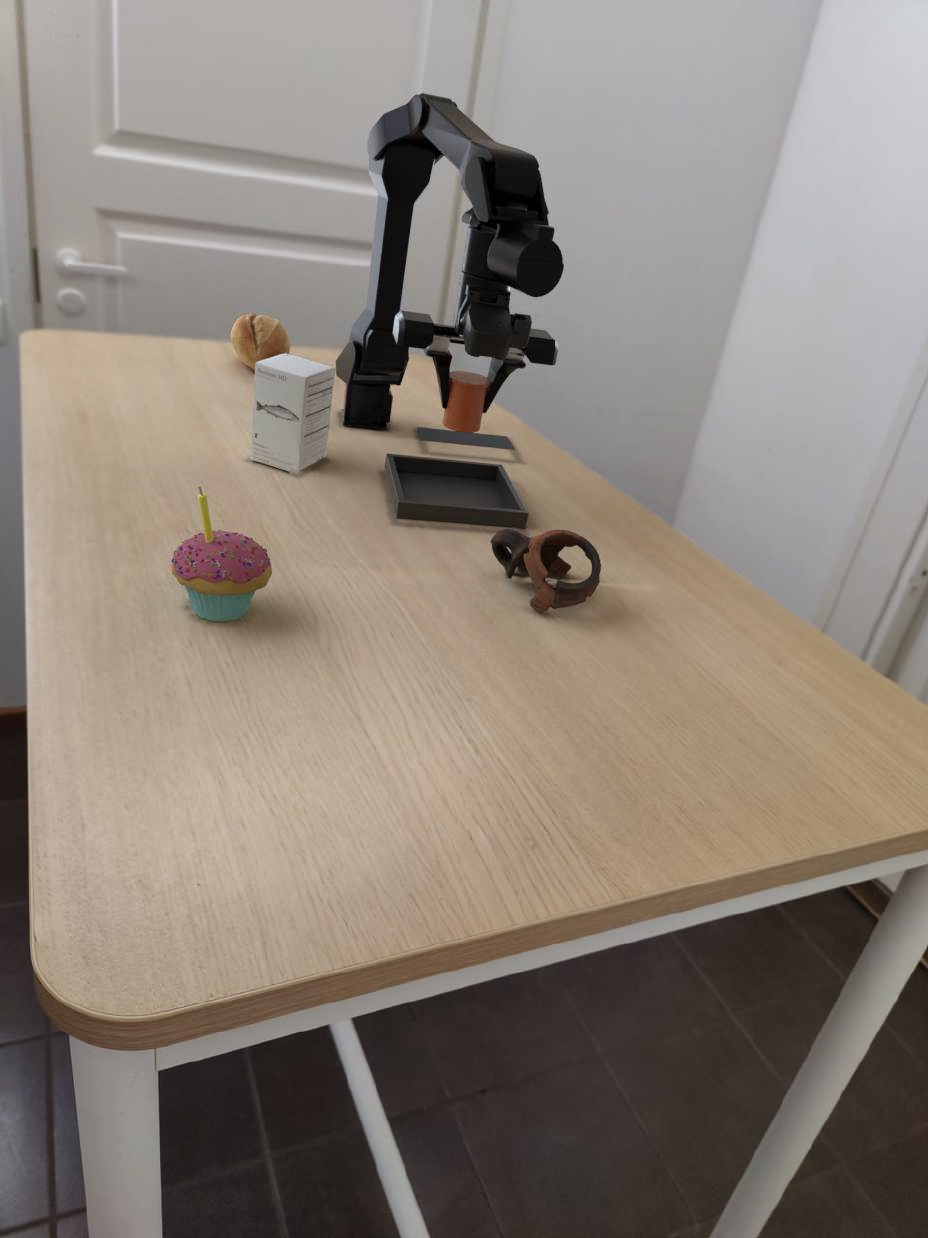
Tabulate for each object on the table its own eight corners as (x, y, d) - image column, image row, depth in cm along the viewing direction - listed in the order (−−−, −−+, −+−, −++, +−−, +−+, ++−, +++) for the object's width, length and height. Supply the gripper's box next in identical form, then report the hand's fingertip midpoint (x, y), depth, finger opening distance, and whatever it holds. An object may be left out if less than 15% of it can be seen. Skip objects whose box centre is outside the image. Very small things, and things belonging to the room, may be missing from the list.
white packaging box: (247, 460, 111) (252, 360, 105) (279, 446, 117) (285, 351, 111) (298, 477, 109) (306, 376, 103) (328, 461, 115) (337, 365, 109)
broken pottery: (588, 584, 98) (619, 543, 91) (563, 650, 93) (593, 613, 86) (492, 535, 97) (516, 491, 90) (461, 598, 92) (483, 557, 85)
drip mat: (425, 453, 124) (426, 450, 124) (417, 429, 133) (417, 426, 132) (520, 462, 127) (521, 459, 127) (506, 438, 136) (506, 436, 136)
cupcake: (182, 637, 75) (183, 508, 69) (162, 589, 81) (161, 467, 75) (280, 626, 79) (289, 504, 73) (254, 581, 85) (260, 465, 79)
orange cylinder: (443, 431, 104) (451, 381, 101) (437, 416, 109) (444, 368, 106) (485, 435, 106) (494, 386, 103) (478, 421, 110) (486, 373, 107)
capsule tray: (395, 524, 102) (398, 502, 101) (383, 473, 115) (386, 453, 114) (524, 534, 105) (528, 513, 104) (498, 483, 119) (502, 464, 117)
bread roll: (235, 376, 141) (236, 325, 137) (225, 350, 152) (226, 302, 148) (295, 380, 144) (298, 330, 140) (281, 354, 156) (283, 308, 152)
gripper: (412, 276, 90) (393, 424, 97) (585, 302, 94) (553, 441, 102) (401, 257, 99) (384, 393, 107) (558, 281, 103) (531, 410, 111)
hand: (463, 409), depth 106 cm, fingers closed on orange cylinder, 4 cm apart
